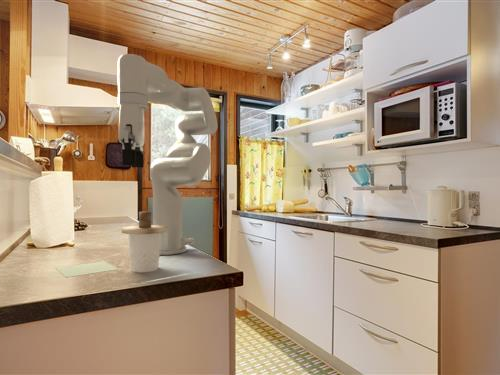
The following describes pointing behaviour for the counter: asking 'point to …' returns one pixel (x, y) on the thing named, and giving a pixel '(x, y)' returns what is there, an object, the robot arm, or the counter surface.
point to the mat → (86, 269)
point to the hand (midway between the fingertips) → (133, 166)
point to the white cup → (144, 252)
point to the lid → (144, 226)
